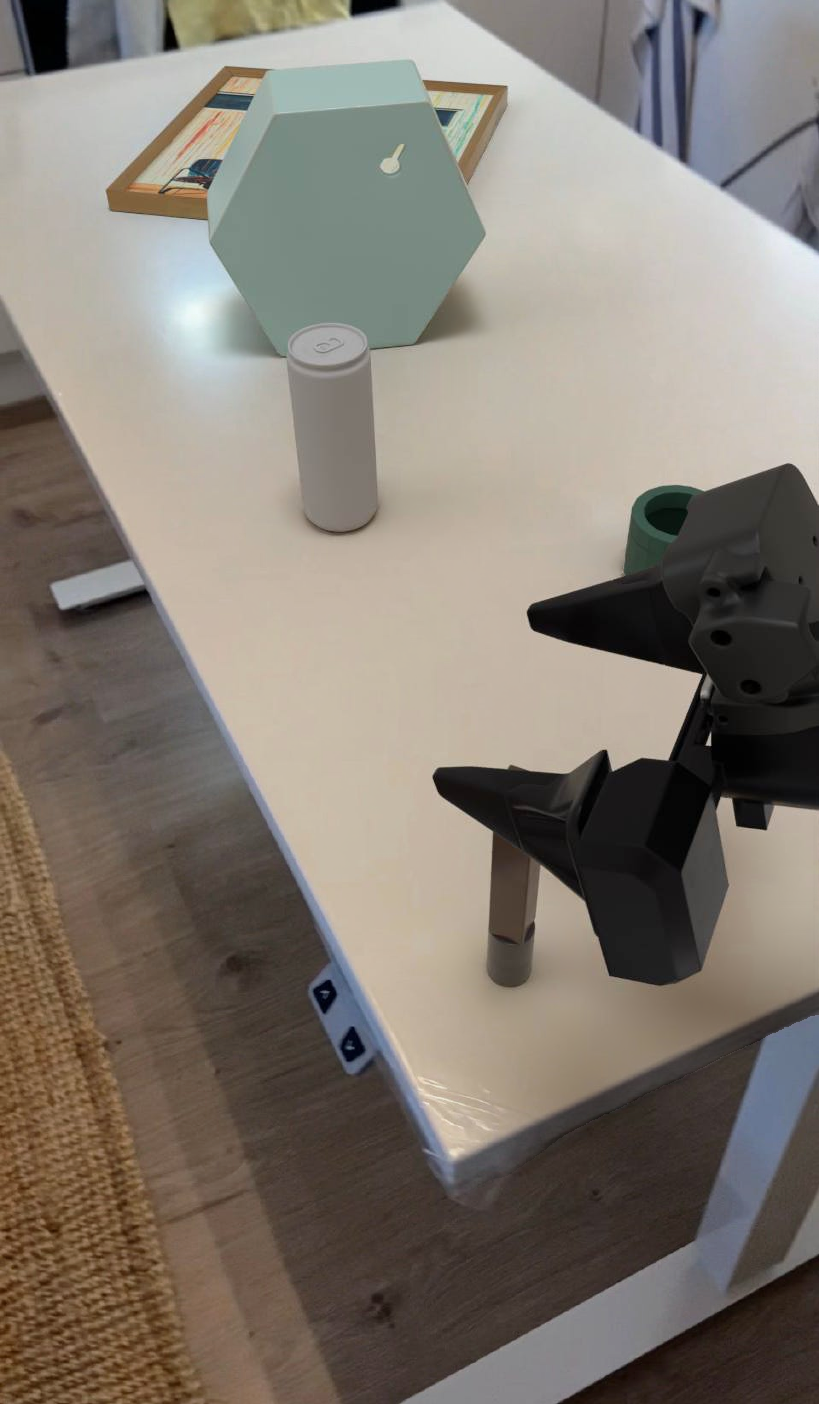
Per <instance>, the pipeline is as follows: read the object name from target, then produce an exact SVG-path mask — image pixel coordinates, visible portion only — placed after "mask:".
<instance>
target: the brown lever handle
mask: <svg viewBox="0 0 819 1404" xmlns="http://www.w3.org/2000/svg"><path fill="white" fill-rule="evenodd" d="M507 769H512V770H524V771H530V770H528V769H525V768H522V767H519V766H516V765H513V764H510V765H508V767H507ZM491 839H492V840H491V863H490V864H491V865H490V885H489V886H490V887H489V906H488V907H489V909H488V912H489V913H488V926H487V929H488V930H487V947H486V948H487V951H486V971H487V974H488V976H489V978H491V979H492V981H493V982H495V983H496V984H498V985H500V986H503V987H508V988H509V987H517V986H520V985H521V984H523V983H525V982H526V981H527V980H528V979H529V977H530V975H531V973H532V965H533V955H534V944H535V934H536V921H535V919H536V915H537V905H538V895H539V885H540V874H541V866H542V865H540V864H539V863H538V862H536V861H535V860H534V859H532V858H531V857H529V856H528V855H526V854H525V853H523V852H522V850H519V849H518V848H516V847H515V846H513V845H512V844H511V843H509V842H508V841H506V840H505V839H503V838H502V837H500V836H499V835H497V834H496V833H494V832H493V831H492V838H491Z"/></svg>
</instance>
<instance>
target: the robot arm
mask: <svg viewBox="0 0 819 1404" xmlns="http://www.w3.org/2000/svg"><path fill="white" fill-rule="evenodd" d="M703 491H704V492H701V493H698V494H695V495H693V496H692V497H691V499H690V501H689V502H688V505H687V507H686V509H687V511H688V515H687V517H686V519H685V521H684V523H683V525H682V527H681V530H680V532H679V534H678V536H677V538H676V539H675V540H674V541H673V542H672V543H671V544H669V545H668V546H667V548H666V550H665V553H664V555H663V558H662V563H660V564H657V565H654V566H652V567H649V568H646V569H643V570H641V571H638V572H635V573H632V574H629V575H626V576H625V575H623V576H619V577H617V578H613V579H610V580H607V581H606V580H605V581H603V582H599V583H597V584H593V585H589V586H586V587H584V588H583V587H582V588H580V589H576V590H573V591H569V592H566V593H563V594H560V595H556V596H553V597H550V598H547V599H542V600H540V601H536V602H533V603H531V604H530V605H529V607H528V608H527V610H526V617H527V620H528V621H527V622H528V624H529V625H528V626H529V628H530V629H531V630H532V631H533V632H536V633H538V634H541V635H544V636H547V637H550V638H553V639H556V640H559V641H562V642H564V643H569V644H572V645H576V646H581V647H585V648H590V649H593V650H598V651H601V652H606V653H610V654H614V655H619V656H623V657H627V658H631V659H637V660H640V661H644V662H649V663H654V664H657V665H662V666H665V667H668V668H673V669H678V670H682V671H686V672H691V673H694V674H699V675H701V677H700V680H699V682H698V685H697V687H696V690H695V692H694V694H693V697H692V699H691V702H690V705H689V707H688V710H687V712H686V714H685V717H684V719H683V722H682V725H681V727H680V729H679V732H678V734H677V737H676V740H675V742H674V745H673V747H672V750H671V752H670V754H669V757H668V759H657V758H647V757H640V758H638V759H636V760H633V761H631V762H630V763H628V764H625V765H623V766H621V767H619V768H616V769H615V770H613V768H612V764H611V759H610V756H609V752H608V749H601V750H599V751H598V752H596V753H595V754H593V755H592V756H591V757H589V758H588V759H587V760H585V761H584V762H583V763H581V764H580V765H579V766H577V767H575V768H574V769H573V770H571V771H569V772H567V773H560V772H549V771H546V772H545V771H535V770H529V771H524V770H512V769H508V768H500V767H499V768H497V767H487V766H473V765H472V766H471V765H463V766H462V765H461V766H440V767H437V768H435V770H434V772H433V774H432V777H431V778H432V781H433V784H434V786H435V789H436V791H437V793H438V795H439V796H440V797H441V798H442V799H443V800H445V801H447V802H448V803H450V804H451V805H453V806H454V807H456V808H457V809H459V810H460V811H462V812H463V813H465V814H466V815H468V816H469V817H470V818H472V819H474V820H475V821H476V822H478V823H479V824H481V825H482V826H484V827H485V828H487V829H489V831H491V832H492V833H493V832H494V833H496V834H497V835H499V836H500V837H502V838H503V839H505V840H506V841H508V842H509V843H511V844H512V845H513V846H515V847H516V848H518V849H519V850H522V852H523V853H525V854H526V855H528V856H529V857H531V858H532V859H534V860H535V861H536V862H538V863H539V864H540V865H541V866H542V867H543V868H544V869H545V870H546V871H548V872H549V873H550V874H551V875H553V876H554V877H555V878H556V879H557V880H558V881H560V882H561V883H562V884H563V885H565V886H566V887H567V888H568V889H569V890H570V891H571V892H573V893H574V894H575V895H576V896H577V897H578V898H580V899H581V900H582V901H583V902H584V903H585V906H586V910H587V913H588V917H589V920H590V923H591V927H592V930H593V933H594V935H595V936H596V937H597V939H598V942H599V943H598V944H599V946H600V949H601V953H602V957H603V960H604V964H605V967H606V970H607V973H608V976H609V977H612V978H616V979H617V978H618V979H621V980H627V981H632V982H638V983H643V984H647V985H651V986H658V987H663V986H670V985H676V984H679V983H680V982H682V981H684V980H686V979H689V978H690V977H692V976H695V975H697V974H699V973H700V972H702V970H703V966H704V964H705V961H706V957H707V954H708V952H709V948H710V945H711V942H712V939H713V936H714V933H715V930H716V927H717V924H718V921H719V918H720V915H721V911H722V908H723V905H724V902H725V899H726V896H727V892H728V890H729V886H730V883H729V878H728V872H727V866H726V861H725V855H724V849H723V844H722V838H721V832H720V826H719V820H718V815H717V810H718V807H719V804H720V801H721V799H722V798H724V799H731V804H732V809H733V814H734V821H735V827H738V828H745V829H752V830H759V831H768V828H769V825H770V822H771V818H772V815H773V812H774V808H775V806H776V807H783V808H784V807H786V808H794V809H801V810H802V809H803V810H810V811H819V503H818V501H817V499H816V497H815V495H814V493H813V491H812V490H811V487H810V486H809V484H808V482H807V480H806V479H805V477H804V475H803V473H802V471H801V470H800V469H799V468H798V467H797V466H796V465H794V464H793V463H790V462H787V463H783V464H780V465H777V466H775V467H772V468H769V469H765V470H763V471H760V472H757V473H754V474H751V475H748V476H746V477H743V478H739V479H737V480H736V479H735V480H734V481H731V482H728V483H725V484H722V485H719V486H716V487H713V488H709V489H707V490H703ZM709 738H710V745H707V743H708V740H709Z"/></svg>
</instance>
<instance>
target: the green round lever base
mask: <svg viewBox="0 0 819 1404" xmlns="http://www.w3.org/2000/svg"><path fill="white" fill-rule="evenodd" d="M704 491H705V490H702V489H699V488H697V487H693V486H689V485H683V484H682V485H681V484H669V485H667V484H666V485H659V486H656V487H653V488H650V489H647V490H645V491H644V492H643V493H642V494H640V495H639V496H638V497H636V499H635V501H634V502H633V504H632V506H631V511H630V519H629V525H628V533H627V540H626V546H625V553H624V563H623V564H624V565H623V573H624V576H626V575H629V574H632V573H635V572H638V571H641V570H643V569H646V568H649V567H652V566H654V565H657V564H660V563H662V558H663V555H664V553H665V550H666V548H667V546H668V545H669V544H671V543H672V542H673V541H674V540H675V539H676V538H677V536H678V534H679V532H680V530H681V527H682V525H683V523H684V521H685V519H686V517H687V515H688V511H687V509H686V507H687V505H688V502H689V501H690V499H691V497H692V496H693V495H695V494H698V493H701V492H704Z"/></svg>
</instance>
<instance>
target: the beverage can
mask: <svg viewBox="0 0 819 1404" xmlns="http://www.w3.org/2000/svg"><path fill="white" fill-rule="evenodd" d="M371 355H372V354H371V349H369V347H368V344H367V338H366V336H365V334H364V333H363V332H361V331H360V330H359V329H357V328H355V327H353V326H350V325H346V324H341V323H321V324H316V325H311V326H308V327H305V328H303V329H301V330H299V331H298V332H296V333H295V334H294V335H293V336H292V337H291V338H290V340H289V342H288V352H287V357H286V367H287V377H288V385H289V387H288V388H289V393H290V405H291V411H292V412H291V413H292V421H293V430H294V431H293V432H294V440H295V449H296V457H297V466H298V473H299V474H298V475H299V483H300V493H301V502H302V509H303V512H304V515H305V517H306V518H307V519H308V520H309V521H310V522H311V523H312V524H314V525H315V526H317V527H318V528H320V529H322V530H326V531H327V532H328V531H329V532H337V533H340V532H341V533H343V532H345V533H346V532H350V531H354V530H357V529H359V528H362V527H363V526H364V525H367V524H368V523H369V521H370V520H371V519H372V518H373V517H374V515H375V513H376V511H377V509H378V507H379V491H378V489H379V487H378V475H377V474H378V473H377V453H376V450H377V449H376V434H375V433H376V432H375V415H374V394H373V393H374V392H373V375H372V357H371Z"/></svg>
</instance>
